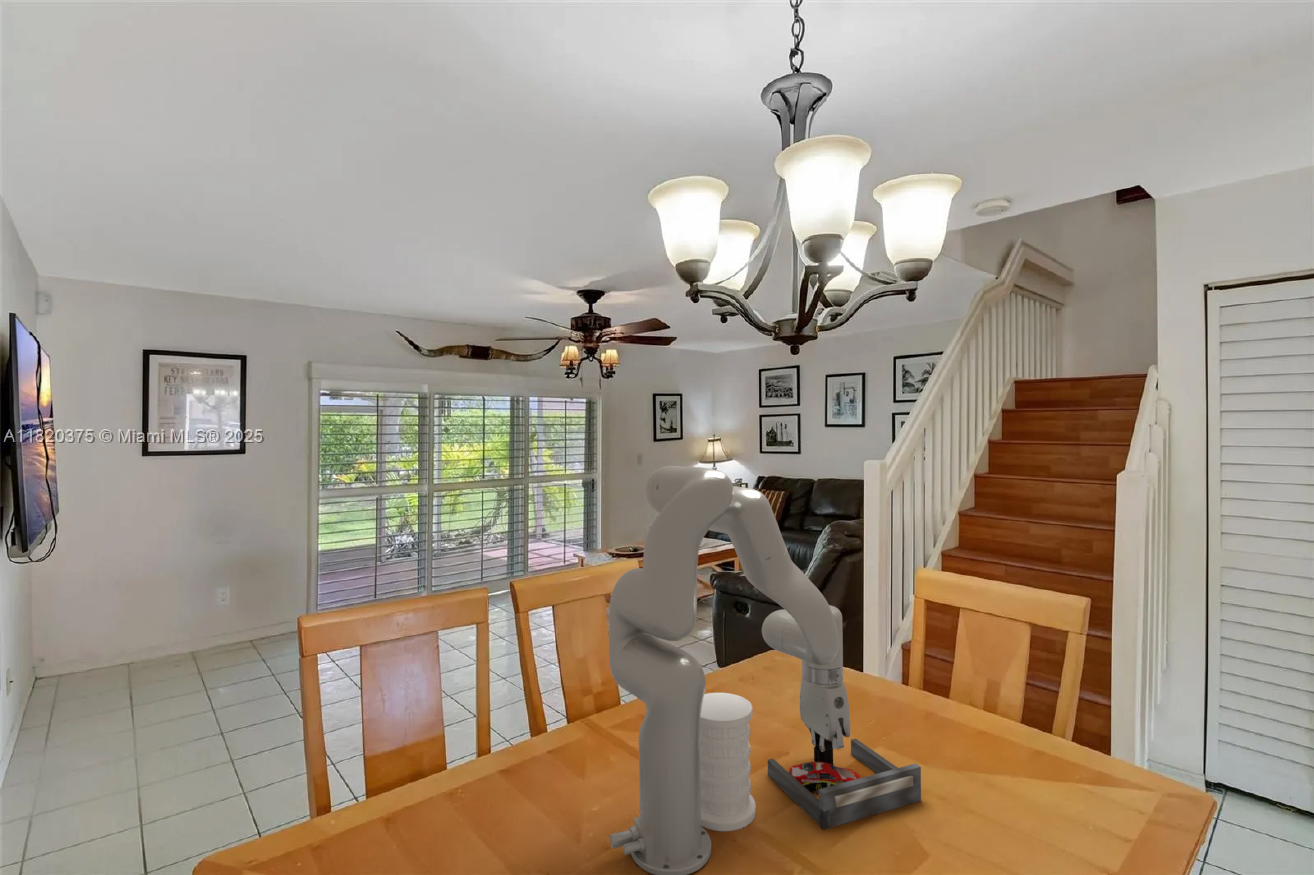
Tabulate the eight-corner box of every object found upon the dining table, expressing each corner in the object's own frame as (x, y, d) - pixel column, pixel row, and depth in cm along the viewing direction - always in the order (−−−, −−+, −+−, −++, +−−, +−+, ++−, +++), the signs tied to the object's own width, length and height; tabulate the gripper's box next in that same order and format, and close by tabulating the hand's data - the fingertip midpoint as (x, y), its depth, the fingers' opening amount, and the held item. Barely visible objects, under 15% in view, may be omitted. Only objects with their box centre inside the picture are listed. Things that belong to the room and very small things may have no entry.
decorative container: (677, 798, 111) (676, 698, 110) (735, 784, 115) (734, 687, 114) (705, 838, 100) (704, 727, 100) (768, 821, 104) (767, 714, 104)
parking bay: (825, 831, 101) (825, 795, 101) (767, 775, 118) (767, 743, 117) (923, 802, 108) (922, 768, 108) (855, 753, 125) (855, 723, 125)
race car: (858, 780, 116) (858, 759, 116) (865, 797, 111) (865, 775, 111) (786, 778, 117) (786, 757, 117) (790, 795, 112) (790, 773, 112)
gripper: (865, 683, 112) (866, 784, 113) (815, 655, 126) (816, 745, 127) (830, 690, 110) (832, 793, 110) (783, 661, 124) (784, 753, 124)
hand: (823, 767), depth 118 cm, fingers closed
